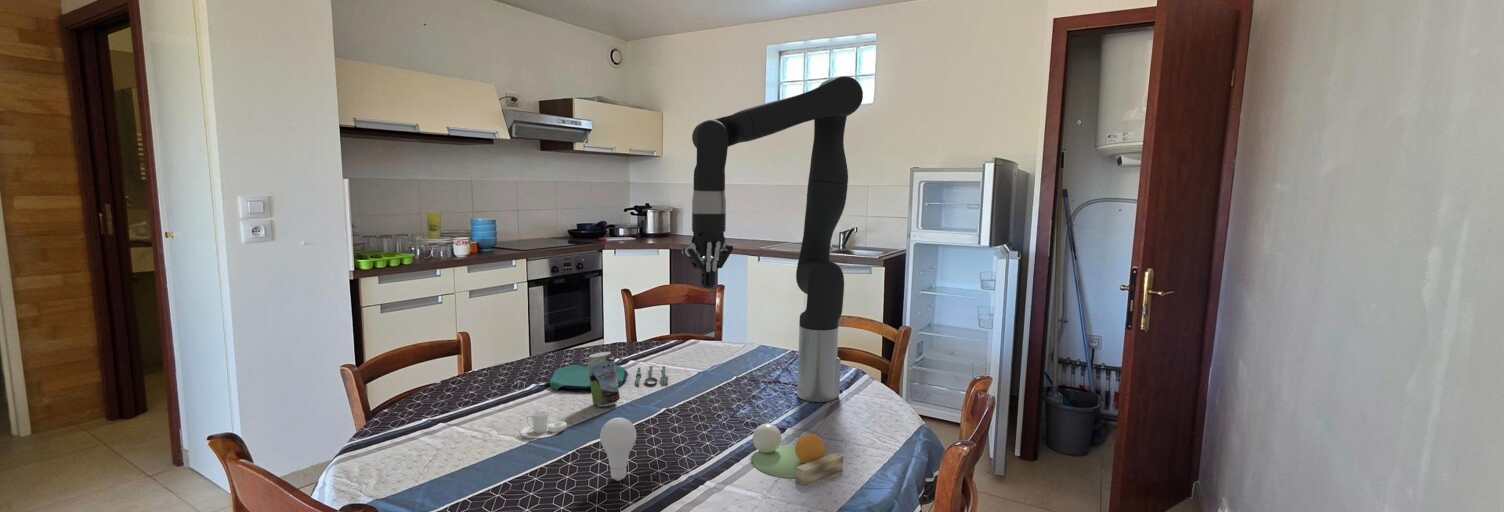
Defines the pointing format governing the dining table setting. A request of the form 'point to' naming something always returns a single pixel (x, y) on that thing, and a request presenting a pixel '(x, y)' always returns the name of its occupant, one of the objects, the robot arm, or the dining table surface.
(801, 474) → the stopper wall
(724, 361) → the dining table surface
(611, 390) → the beverage can
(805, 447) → the orange ball
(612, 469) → the lightbulb
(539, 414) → the teacup and saucer
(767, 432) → the white ball
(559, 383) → the cutlery set
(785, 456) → the green mark
